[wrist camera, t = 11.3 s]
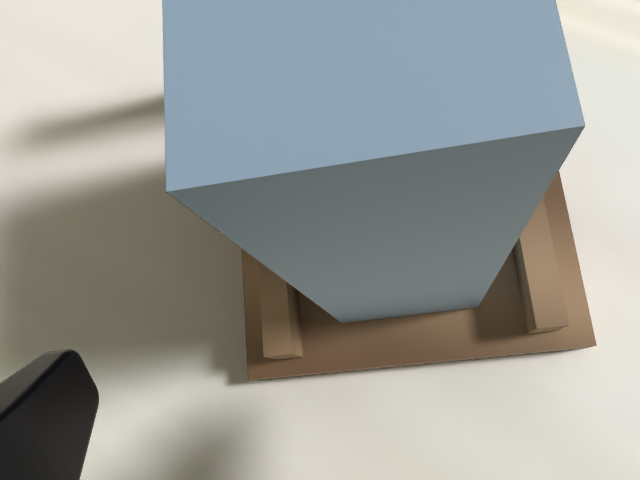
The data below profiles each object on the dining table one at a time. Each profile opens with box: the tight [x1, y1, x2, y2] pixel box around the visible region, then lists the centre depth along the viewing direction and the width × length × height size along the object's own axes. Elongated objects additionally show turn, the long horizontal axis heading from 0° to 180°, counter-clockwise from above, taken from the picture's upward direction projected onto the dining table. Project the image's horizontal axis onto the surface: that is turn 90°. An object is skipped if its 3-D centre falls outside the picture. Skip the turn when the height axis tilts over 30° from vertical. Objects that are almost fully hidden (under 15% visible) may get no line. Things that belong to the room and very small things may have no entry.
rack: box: [241, 171, 596, 380], centre depth 15 cm, size 11×10×9 cm
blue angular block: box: [162, 0, 585, 323], centre depth 12 cm, size 7×4×12 cm, turn 5°
